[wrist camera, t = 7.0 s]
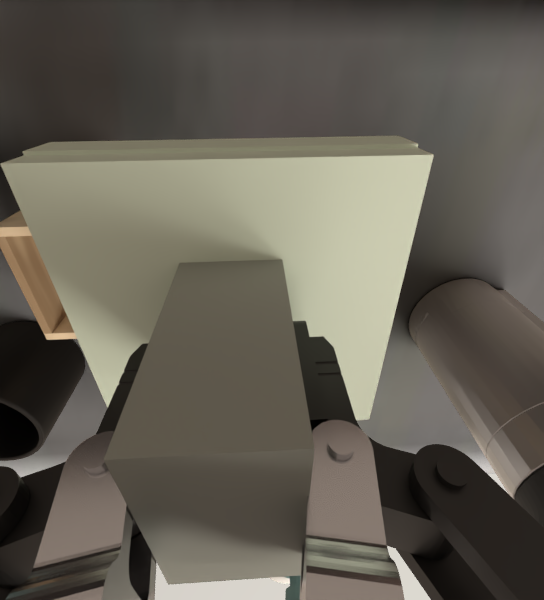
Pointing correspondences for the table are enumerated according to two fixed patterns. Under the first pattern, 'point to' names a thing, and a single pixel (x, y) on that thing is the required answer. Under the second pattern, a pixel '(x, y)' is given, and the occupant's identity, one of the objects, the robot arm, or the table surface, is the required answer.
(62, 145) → the lid
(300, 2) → the table surface
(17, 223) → the storage box
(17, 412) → the mug
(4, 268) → the table surface
